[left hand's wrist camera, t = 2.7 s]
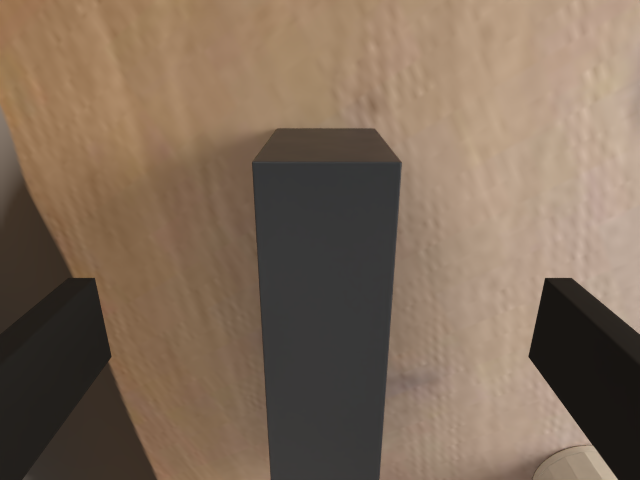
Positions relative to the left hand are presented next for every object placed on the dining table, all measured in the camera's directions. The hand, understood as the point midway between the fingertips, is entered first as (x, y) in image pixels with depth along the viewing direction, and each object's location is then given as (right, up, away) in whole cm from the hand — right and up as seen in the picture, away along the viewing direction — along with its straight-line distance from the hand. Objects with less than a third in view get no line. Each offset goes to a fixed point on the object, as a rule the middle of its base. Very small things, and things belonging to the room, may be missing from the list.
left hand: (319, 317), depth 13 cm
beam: (0, -3, +16) cm, 16 cm away
